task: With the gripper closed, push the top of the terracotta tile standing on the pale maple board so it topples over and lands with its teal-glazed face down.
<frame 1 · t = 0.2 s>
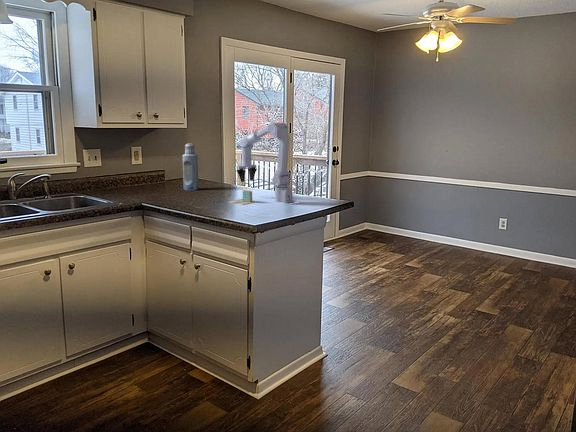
hand: (247, 181, 289), 10 cm above the countertop, tool pointing down, fingers open, 7 cm apart
bottle: (191, 189, 322), on the countertop
tile: (247, 201, 273), point 1 cm above the countertop, touching board
board: (243, 203, 272), on the countertop
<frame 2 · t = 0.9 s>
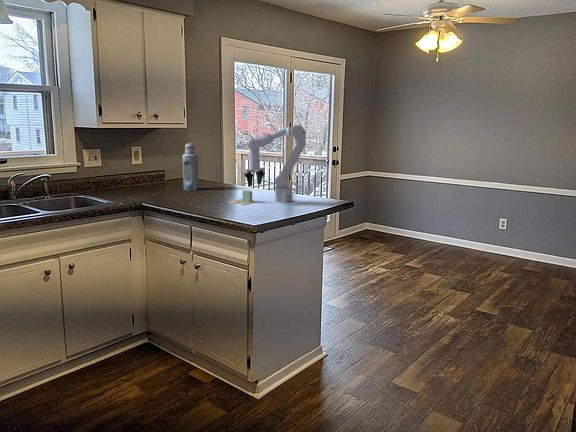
hand: (254, 185, 275), 9 cm above the countertop, tool pointing down, fingers open, 7 cm apart
nothing on the countertop moved.
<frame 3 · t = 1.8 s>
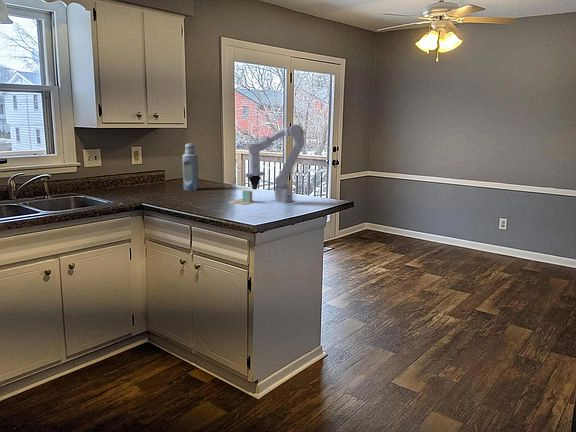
hand: (254, 189, 276), 7 cm above the countertop, tool pointing down, fingers closed
nothing on the countertop moved.
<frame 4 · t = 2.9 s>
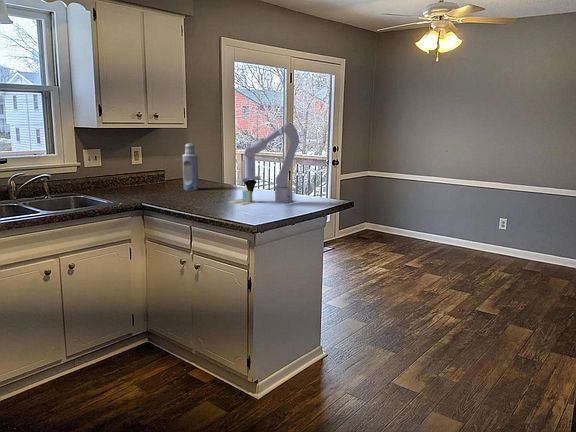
hand: (250, 193, 274), 5 cm above the countertop, tool pointing down, fingers closed
nothing on the countertop moved.
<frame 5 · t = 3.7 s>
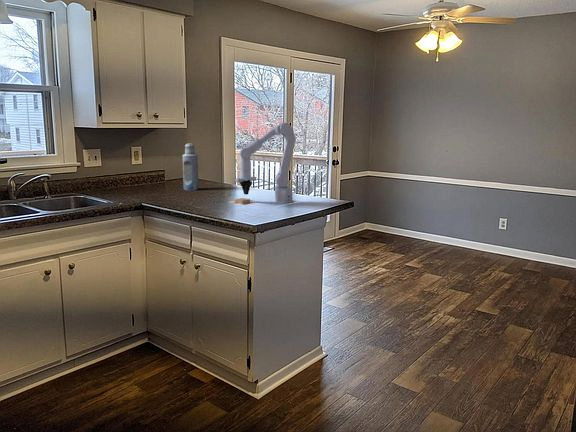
hand: (246, 194, 271), 5 cm above the countertop, tool pointing down, fingers closed
tile: (246, 200, 272), point 2 cm above the countertop, tilted 90°, touching board
everything else where it was.
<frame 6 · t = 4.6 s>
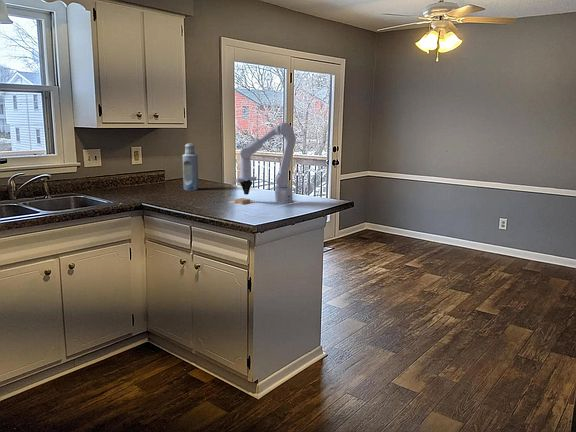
hand: (246, 194, 271), 5 cm above the countertop, tool pointing down, fingers closed
nothing on the countertop moved.
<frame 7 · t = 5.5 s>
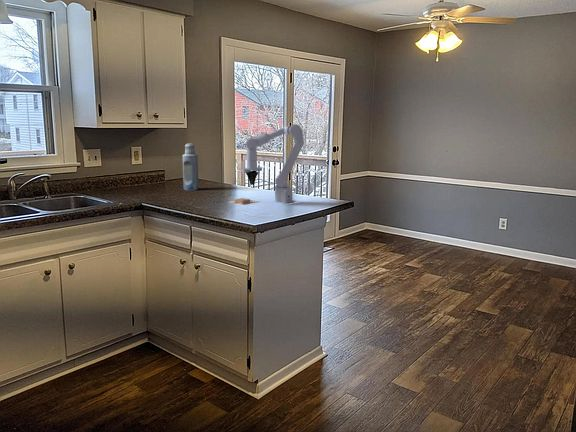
hand: (252, 184, 274), 10 cm above the countertop, tool pointing down, fingers closed
nothing on the countertop moved.
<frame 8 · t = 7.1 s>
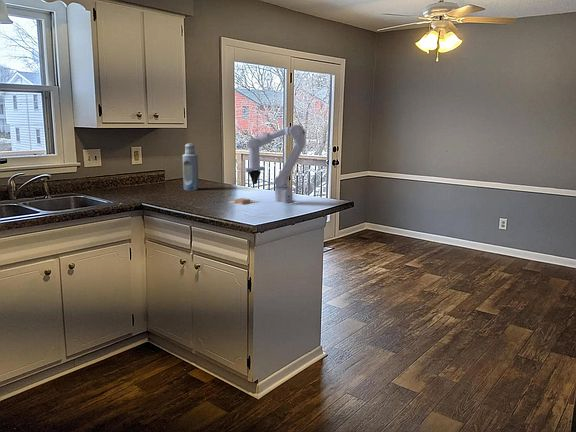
hand: (254, 183, 277), 10 cm above the countertop, tool pointing down, fingers closed
nothing on the countertop moved.
at the end: tile tilted 90°; tile inside the target area (4.5 cm from its centre), point 1.7 cm above the countertop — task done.
